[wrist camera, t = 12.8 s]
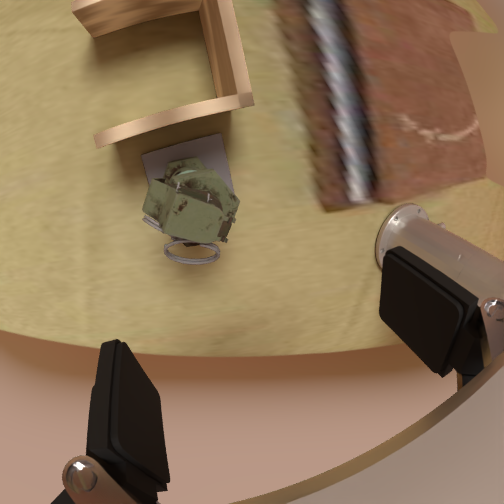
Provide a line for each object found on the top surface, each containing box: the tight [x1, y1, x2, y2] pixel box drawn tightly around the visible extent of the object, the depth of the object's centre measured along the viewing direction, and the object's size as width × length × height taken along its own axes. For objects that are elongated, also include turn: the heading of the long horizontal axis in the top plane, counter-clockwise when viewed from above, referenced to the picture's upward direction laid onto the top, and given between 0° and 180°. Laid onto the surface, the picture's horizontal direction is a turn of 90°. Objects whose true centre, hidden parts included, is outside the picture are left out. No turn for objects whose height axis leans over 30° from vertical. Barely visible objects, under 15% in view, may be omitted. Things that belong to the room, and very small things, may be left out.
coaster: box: [141, 133, 234, 193], centre depth 31 cm, size 9×9×1 cm
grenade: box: [142, 156, 240, 265], centre depth 24 cm, size 7×7×15 cm
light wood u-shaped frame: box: [71, 0, 254, 149], centre depth 21 cm, size 13×14×9 cm
